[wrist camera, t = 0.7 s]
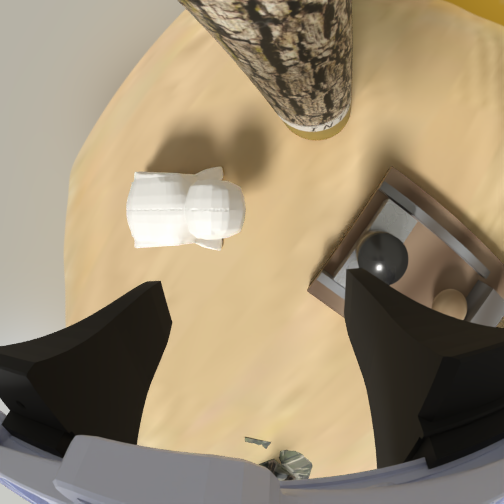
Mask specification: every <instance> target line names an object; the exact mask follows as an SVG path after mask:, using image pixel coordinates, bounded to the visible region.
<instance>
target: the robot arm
mask: <svg viewBox="0 0 504 504" xmlns="http://www.w3.org/2000/svg"><path fill="white" fill-rule="evenodd" d="M344 318H345V322H346V327H347V332H348V336H349V338H350V341H351V344H352V347H353V350H354V353H355V355H356V358H357V361H358V364H359V367H360V370H361V372H362V375H363V378H364V382H365V385H366V389H367V394H368V399H369V405H370V410H371V416H372V423H373V429H374V438H375V447H376V458H377V469H375V470H370V471H365V472H359V473H353V474H347V475H340V476H332V477H324V478H314V479H302V480H284V481H279V479H278V478H277V477H276V476H275V475H274V474H273V473H272V472H271V471H270V470H269V469H267V468H266V467H264V466H261V465H258V464H255V463H252V462H250V461H247V460H244V459H239V458H231V457H225V456H218V455H211V454H198V453H187V452H178V451H170V450H163V449H156V448H150V447H144V446H139V445H137V440H138V433H139V427H140V422H141V417H142V413H143V408H144V404H145V400H146V396H147V393H148V390H149V387H150V384H151V382H152V379H153V377H154V374H155V372H156V369H157V367H158V365H159V362H160V360H161V357H162V355H163V352H164V350H165V348H166V345H167V342H168V338H169V335H170V330H171V326H172V320H171V317H170V313H169V310H168V306H167V303H166V299H165V296H164V292H163V288H162V284H161V281H149V282H145V283H143V284H141V285H139V286H137V287H136V288H134V289H132V290H131V291H129V292H128V293H126V294H125V295H123V296H122V297H120V298H118V299H117V300H115V301H114V302H112V303H111V304H109V305H107V306H106V307H104V308H102V309H101V310H99V311H98V312H96V313H94V314H93V315H91V316H89V317H87V318H85V319H83V320H82V321H80V322H78V323H75V324H73V325H71V326H69V327H67V328H64V329H62V330H60V331H57V332H54V333H52V334H49V335H46V336H43V337H41V338H37V339H33V340H30V341H26V342H22V343H17V344H12V345H6V346H0V398H1V399H2V401H3V402H4V403H5V405H6V406H7V407H8V408H9V410H10V412H9V413H8V415H7V416H6V415H5V414H4V413H3V412H2V411H0V483H1V484H3V485H4V486H5V487H7V488H8V489H10V490H11V491H13V492H14V493H16V494H18V495H19V496H21V497H22V498H24V499H25V500H27V501H29V502H30V503H32V504H504V328H498V327H491V326H485V325H480V324H476V323H472V322H468V321H464V320H461V319H457V318H455V317H452V316H449V315H446V314H443V313H441V312H438V311H436V310H433V309H431V308H429V307H427V306H425V305H422V304H420V303H418V302H416V301H414V300H413V299H411V298H409V297H407V296H406V295H404V294H402V293H400V292H399V291H397V290H396V289H394V288H392V287H391V286H389V285H388V284H386V283H385V282H383V281H382V280H380V279H379V278H377V277H376V276H374V275H373V274H371V273H370V272H368V271H367V270H365V269H363V268H353V269H346V285H345V303H344Z"/></svg>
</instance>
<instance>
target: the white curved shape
mask: <svg viewBox="0 0 504 504" xmlns="http://www.w3.org/2000/svg"><path fill="white" fill-rule="evenodd" d="M223 176H224V175H223V169H222V167H214V168H209V169H205V170H203V171H200V172H199V173H197V174H195V175H193V174H181V173H164V172H135V175H134V182H132V186H131V189H130V192H129V195H128V199H127V205H126V206H127V220H128V224H129V227H130V230H131V233H132V236H133V237H134V239H135V247H136V248H142V247H160V246H174V245H175V246H177V245H181V244H191V243H196V244H198V245H200V246H202V247H205V248H209V249H214V250H221V248H222V243H223V240H222V238H228V237H230V236H232V235H235V234H237V233H239V232H240V231H241V229H242V226H243V223H244V219H245V212H246V207H245V199H244V195H243V192H242V189H241V187H240V186H238V185H236V184H233V183H231V182H229V181H222V179H223Z"/></svg>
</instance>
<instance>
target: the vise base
mask: <svg viewBox="0 0 504 504" xmlns="http://www.w3.org/2000/svg"><path fill="white" fill-rule="evenodd" d="M385 199H390V200H391V201H393V202H394V203H395V204H397V205H398V206H399V207H401V208H402V209H403V210H404V211H406V212H407V213H408V214H410V215H411V216H412V217H413V218H415V219H416V220H417V221H418V222H417V223H416V225H415V226H414V228H413V229H412V231H411V232H410V234H409V235H408V237H407V238H406V240H405V241H404V243H403V244H404V245H405V247H406V249H407V252H408V259H409V260H408V267H407V270H406V272H405V273H404V275H403V276H402V278H401V279H400V280H398V281H397V282H396V283H394V284H391V285H389V286H391V287H392V288H394V289H396V290H397V291H399V292H400V293H402V294H404V295H406V296H407V297H409V298H411V299H413V300H414V301H416V302H418V303H420V304H422V305H425V306H427V307H429V308H431V309H433V310H436V311H438V312H441V313H443V314H446V315H449V316H452V317H455V318H457V319H461V320H464V321H468V322H472V323H476V324H480V325H485V326H491V327H496V326H497V325H498V323H499V322H500V321H501V319H502V318H503V316H504V264H503V263H502V262H501V261H500V260H499V259H498V258H497V257H496V256H495V255H494V254H493V253H492V252H491V251H490V250H489V249H488V248H487V247H486V246H485V245H484V244H483V243H482V242H481V241H480V240H479V239H478V238H477V237H476V236H475V235H474V234H473V233H472V232H471V231H470V230H469V229H468V228H467V227H466V226H465V225H464V224H462V223H461V222H460V221H459V220H458V219H457V218H456V217H455V216H454V215H452V214H451V213H450V212H449V211H448V210H447V209H446V208H444V207H443V206H442V205H441V204H440V203H439V202H437V201H436V200H435V199H434V198H433V197H431V196H430V195H429V194H428V193H426V192H425V191H424V190H423V189H421V188H420V187H419V186H418V185H416V184H415V183H414V182H412V181H411V180H410V179H409V178H407V177H406V176H405V175H403V174H402V173H401V172H399V171H398V170H397V169H395V168H394V167H391V168H390V169H389V170H388V172H387V173H386V175H385V177H384V178H383V180H382V181H381V183H380V184H379V186H378V188H377V189H376V191H375V192H374V194H373V195H372V197H371V198H370V200H369V201H368V203H367V204H366V206H365V207H364V209H363V210H362V212H361V213H360V215H359V216H358V218H357V219H356V221H355V222H354V224H353V225H352V227H351V228H350V230H349V231H348V233H347V234H346V235H345V237H344V238H343V240H342V241H341V243H340V244H339V245H338V247H337V248H336V250H335V251H334V253H333V254H332V255H331V257H330V258H329V260H328V261H327V262H326V264H325V265H324V267H323V268H322V269H321V271H320V272H319V273H318V275H317V276H316V278H315V279H314V280H313V282H312V283H311V284H310V286H309V287H308V289H307V291H308V292H309V293H310V294H312V295H313V296H315V297H316V298H317V299H319V300H320V301H322V302H323V303H324V304H326V305H327V306H328V307H330V308H331V309H333V310H334V311H335V312H337V313H338V314H340V315H341V316H342V317H344V303H345V288H344V287H343V286H341V285H340V284H339V283H337V282H336V281H335V280H333V277H334V272H335V271H336V269H337V268H338V267H339V265H340V264H341V262H342V261H343V260H344V258H345V257H346V255H347V254H348V253H349V251H350V250H351V248H352V247H353V246H354V244H355V243H356V241H357V240H358V238H359V237H360V236H361V234H362V233H363V231H364V230H365V228H366V227H367V225H368V224H369V222H370V221H371V219H372V218H373V216H374V215H375V213H376V212H377V210H378V209H379V207H380V206H381V204H382V203H383V201H384V200H385Z"/></svg>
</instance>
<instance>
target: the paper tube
mask: <svg viewBox="0 0 504 504" xmlns="http://www.w3.org/2000/svg"><path fill="white" fill-rule="evenodd" d="M178 1H179V2H180V3H181V4H182V5H183V6H184V7H185V8H186V9H187V10H188V11H189V12H190V13H191V14H192V15H193V16H194V17H195V18H196V19H197V20H198V21H199V23H200V24H201V25H202V26H203V27H204V28H205V29H206V30H207V31H208V32H209V33H210V34H211V35H212V36H213V37H214V39H215V40H216V41H217V42H218V43H219V44H220V45H221V46H222V47H223V49H224V50H225V51H226V52H227V53H228V54H229V55H230V56H231V58H232V59H233V60H234V61H235V62H236V63H237V65H238V66H239V67H240V68H241V69H242V70H243V72H244V73H245V74H246V75H247V76H248V78H249V79H250V80H251V81H252V83H253V84H254V85H255V86H256V87H257V89H258V90H259V91H260V92H261V94H262V95H263V96H264V97H265V99H266V100H267V101H268V103H269V104H270V105H271V106H272V108H273V109H274V110H275V112H276V113H277V114H278V116H279V117H280V118H281V119H282V120H283V122H284V123H285V124H286V126H287V127H288V128H289V129H290V130H291V131H292V132H293V133H295V134H296V135H298V136H300V137H302V138H305V139H309V140H324V139H328V138H330V137H333V136H334V135H336V134H338V133H339V132H340V131H341V130H342V129H343V128H344V126H345V125H346V123H347V122H348V119H349V116H350V106H351V91H352V0H178Z"/></svg>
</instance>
